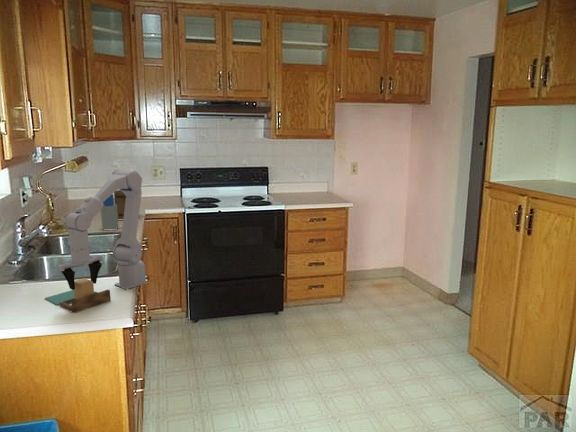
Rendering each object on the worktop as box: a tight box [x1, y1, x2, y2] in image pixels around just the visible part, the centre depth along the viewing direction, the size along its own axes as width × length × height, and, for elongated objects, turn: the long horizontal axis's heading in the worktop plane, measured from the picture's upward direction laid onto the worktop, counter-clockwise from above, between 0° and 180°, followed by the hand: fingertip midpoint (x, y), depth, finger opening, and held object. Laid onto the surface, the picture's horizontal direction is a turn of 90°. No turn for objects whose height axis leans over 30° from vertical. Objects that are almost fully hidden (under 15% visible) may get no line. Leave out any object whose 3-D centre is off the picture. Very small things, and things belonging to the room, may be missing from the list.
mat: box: [44, 289, 75, 306], centre depth 163 cm, size 14×10×1 cm
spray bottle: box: [100, 193, 119, 230], centre depth 264 cm, size 9×9×25 cm
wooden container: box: [113, 189, 126, 219], centre depth 295 cm, size 15×15×22 cm
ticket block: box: [74, 277, 95, 299], centre depth 156 cm, size 4×6×8 cm, turn 52°
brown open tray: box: [58, 289, 111, 314], centre depth 156 cm, size 13×10×4 cm
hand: (83, 285), depth 155 cm, fingers open, 7 cm apart
